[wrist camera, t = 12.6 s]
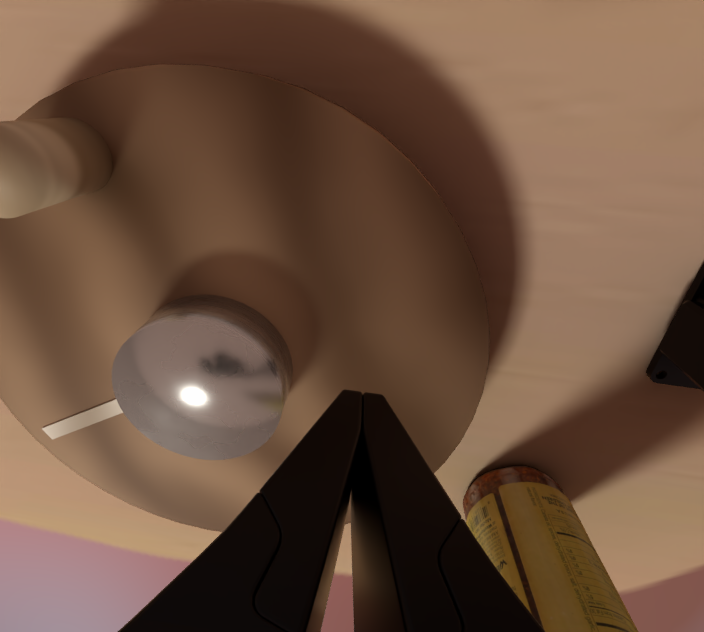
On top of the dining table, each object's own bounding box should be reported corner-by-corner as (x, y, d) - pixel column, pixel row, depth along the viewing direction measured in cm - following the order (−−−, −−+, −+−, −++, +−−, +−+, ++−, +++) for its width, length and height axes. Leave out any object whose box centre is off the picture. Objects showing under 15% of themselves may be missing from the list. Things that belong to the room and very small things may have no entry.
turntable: (350, -78, 14) (333, -178, 9) (539, 448, 23) (583, 545, 18) (-130, 225, 19) (-307, 270, 14) (178, 547, 29) (136, 641, 24)
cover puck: (240, 269, 18) (220, 294, 15) (319, 395, 20) (312, 432, 18) (110, 329, 19) (75, 359, 17) (199, 438, 22) (179, 477, 20)
